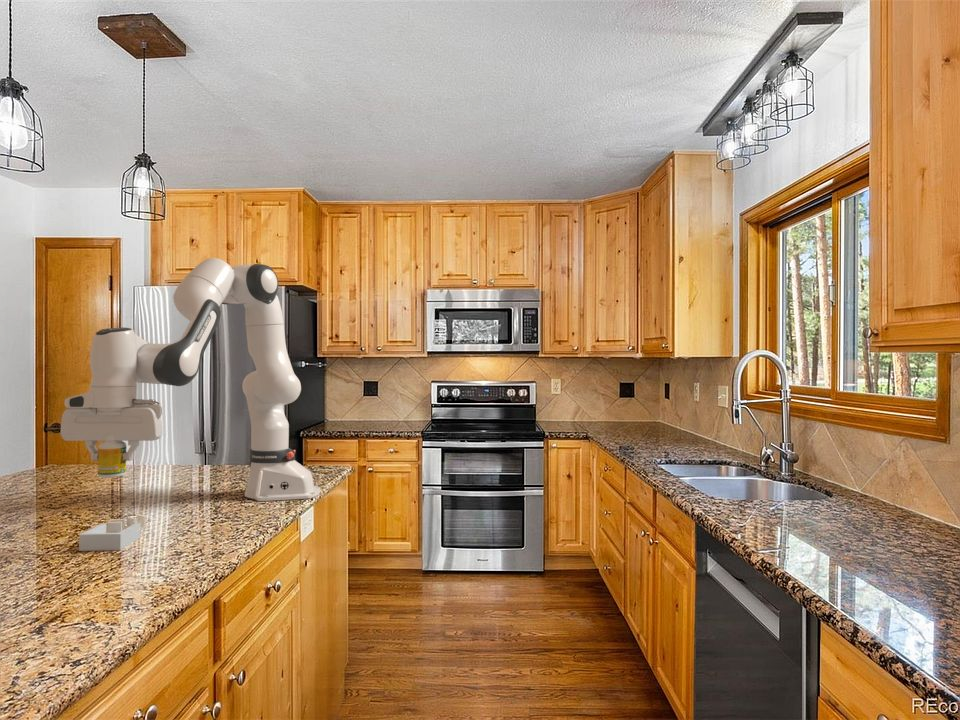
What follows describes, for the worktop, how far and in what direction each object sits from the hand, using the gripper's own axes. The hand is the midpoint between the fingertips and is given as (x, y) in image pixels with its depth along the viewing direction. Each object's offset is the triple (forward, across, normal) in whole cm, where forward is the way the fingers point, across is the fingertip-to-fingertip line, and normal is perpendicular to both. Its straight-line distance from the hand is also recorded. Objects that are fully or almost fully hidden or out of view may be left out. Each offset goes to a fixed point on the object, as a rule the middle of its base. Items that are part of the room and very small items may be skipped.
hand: (112, 460), depth 126 cm
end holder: (+19, 0, 0) cm, 19 cm away
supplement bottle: (+4, 0, 0) cm, 4 cm away
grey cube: (+19, +3, -8) cm, 21 cm away
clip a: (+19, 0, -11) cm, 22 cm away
